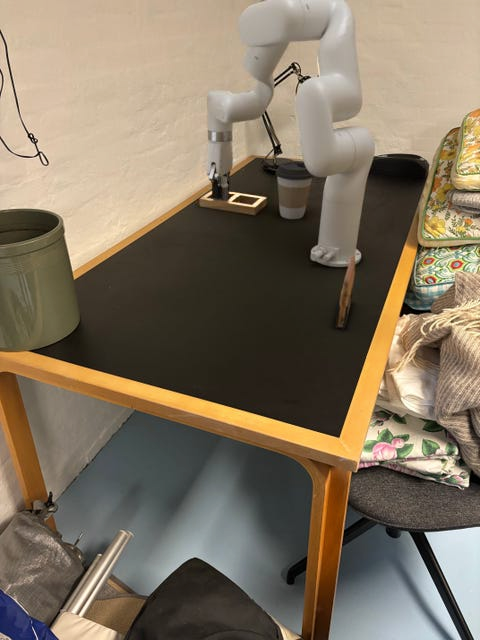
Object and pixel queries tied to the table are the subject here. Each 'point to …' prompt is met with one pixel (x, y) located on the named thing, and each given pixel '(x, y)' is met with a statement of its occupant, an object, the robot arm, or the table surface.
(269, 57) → the robot arm
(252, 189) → the table surface
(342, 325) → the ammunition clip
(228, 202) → the holder
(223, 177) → the pill bottle
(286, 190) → the coffee cup
